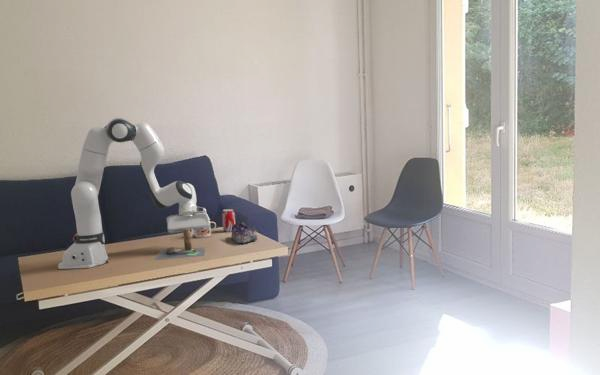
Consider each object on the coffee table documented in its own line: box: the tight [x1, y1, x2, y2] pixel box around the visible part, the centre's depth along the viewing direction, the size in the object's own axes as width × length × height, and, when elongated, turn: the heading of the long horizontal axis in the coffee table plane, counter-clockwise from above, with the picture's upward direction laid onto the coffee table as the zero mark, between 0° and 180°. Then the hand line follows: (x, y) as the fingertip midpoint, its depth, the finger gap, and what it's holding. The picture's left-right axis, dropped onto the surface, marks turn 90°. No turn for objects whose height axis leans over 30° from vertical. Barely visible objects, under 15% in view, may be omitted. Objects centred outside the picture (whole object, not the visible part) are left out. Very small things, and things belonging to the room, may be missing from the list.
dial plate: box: [155, 246, 206, 261], centre depth 273 cm, size 22×17×2 cm
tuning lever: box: [165, 228, 197, 254], centre depth 273 cm, size 15×4×11 cm, turn 79°
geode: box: [231, 220, 258, 245], centre depth 300 cm, size 20×12×10 cm, turn 28°
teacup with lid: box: [194, 218, 217, 239], centre depth 315 cm, size 12×9×12 cm
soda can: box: [221, 208, 236, 233], centre depth 324 cm, size 7×7×12 cm
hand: (189, 237), depth 274 cm, fingers closed
